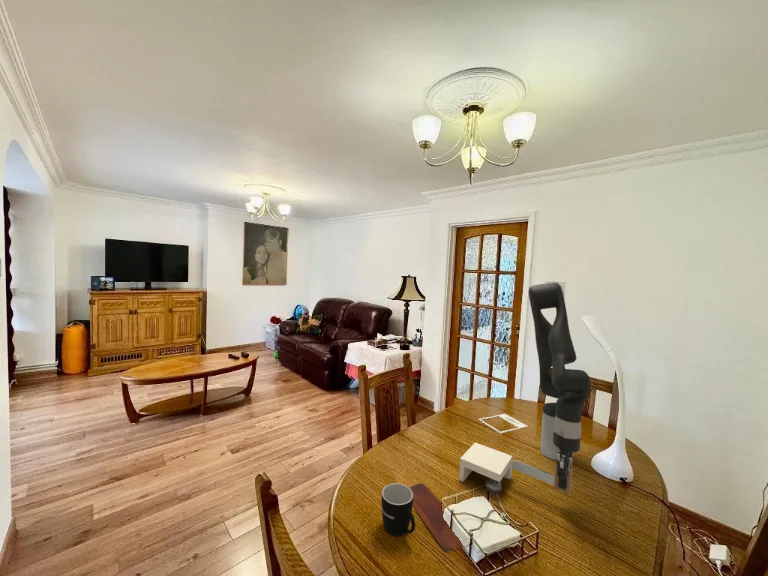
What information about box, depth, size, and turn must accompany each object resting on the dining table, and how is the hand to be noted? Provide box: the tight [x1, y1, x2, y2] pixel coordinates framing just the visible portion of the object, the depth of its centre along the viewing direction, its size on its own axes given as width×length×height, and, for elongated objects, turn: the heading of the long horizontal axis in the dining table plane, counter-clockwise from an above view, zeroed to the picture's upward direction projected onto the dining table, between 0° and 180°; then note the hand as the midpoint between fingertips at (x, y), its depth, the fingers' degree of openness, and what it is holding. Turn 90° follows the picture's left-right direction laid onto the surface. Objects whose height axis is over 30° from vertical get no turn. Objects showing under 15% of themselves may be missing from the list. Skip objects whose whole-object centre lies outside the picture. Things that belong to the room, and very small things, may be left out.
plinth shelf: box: [458, 442, 513, 482], centre depth 114 cm, size 14×14×8 cm
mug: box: [381, 482, 416, 537], centre depth 89 cm, size 12×9×10 cm
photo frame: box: [478, 413, 529, 435], centre depth 158 cm, size 15×1×18 cm
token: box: [485, 477, 502, 495], centre depth 108 cm, size 5×5×2 cm
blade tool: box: [512, 458, 574, 495], centre depth 104 cm, size 18×4×8 cm, turn 52°
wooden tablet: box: [408, 482, 464, 553], centre depth 96 cm, size 27×10×2 cm, turn 23°
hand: (563, 484), depth 100 cm, fingers closed on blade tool, 4 cm apart
